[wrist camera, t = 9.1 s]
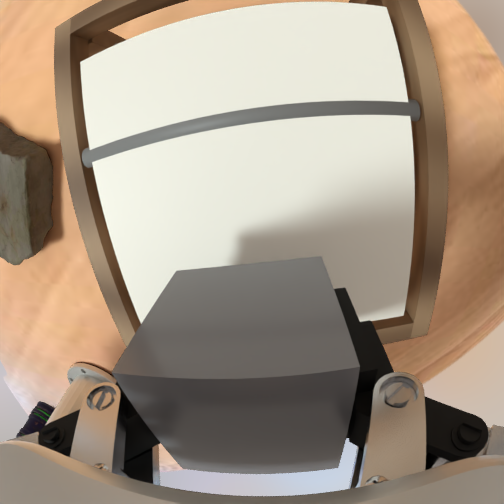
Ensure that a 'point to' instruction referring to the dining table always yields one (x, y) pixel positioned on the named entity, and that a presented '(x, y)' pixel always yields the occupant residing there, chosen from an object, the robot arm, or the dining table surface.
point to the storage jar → (36, 419)
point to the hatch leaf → (257, 148)
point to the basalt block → (245, 368)
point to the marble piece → (23, 196)
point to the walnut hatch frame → (423, 135)
